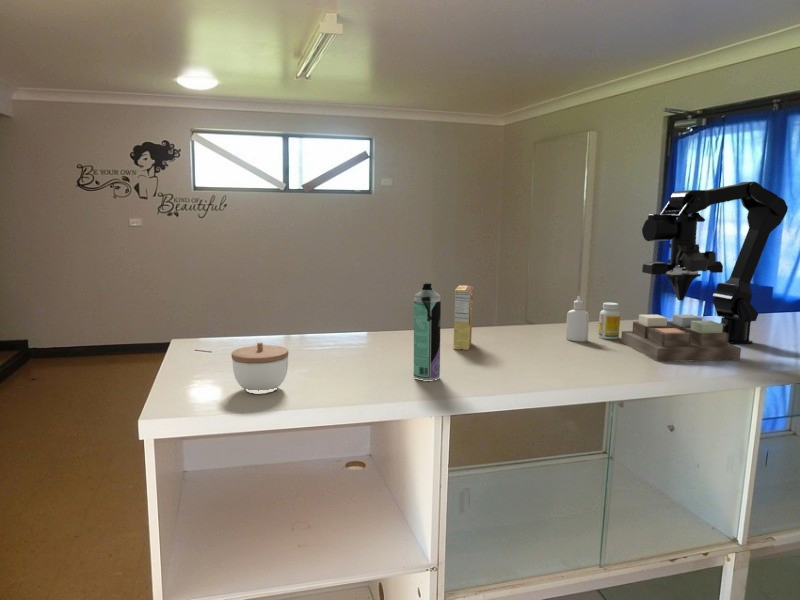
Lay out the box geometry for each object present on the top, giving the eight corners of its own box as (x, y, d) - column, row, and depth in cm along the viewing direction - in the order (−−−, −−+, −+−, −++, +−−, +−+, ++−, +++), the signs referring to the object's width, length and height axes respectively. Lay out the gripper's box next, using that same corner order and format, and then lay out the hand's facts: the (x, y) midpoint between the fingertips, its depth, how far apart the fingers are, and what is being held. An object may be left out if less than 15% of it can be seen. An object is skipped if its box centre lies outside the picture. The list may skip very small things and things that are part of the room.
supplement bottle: (594, 337, 164) (596, 303, 162) (605, 334, 167) (607, 301, 165) (612, 340, 159) (614, 305, 158) (622, 337, 163) (624, 303, 161)
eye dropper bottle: (576, 337, 163) (578, 294, 161) (590, 341, 158) (592, 297, 156) (563, 338, 161) (565, 295, 160) (577, 343, 156) (579, 298, 155)
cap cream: (657, 325, 154) (657, 314, 153) (666, 329, 149) (667, 317, 149) (638, 325, 154) (639, 314, 153) (647, 329, 149) (647, 318, 148)
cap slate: (690, 325, 154) (691, 314, 154) (701, 329, 149) (702, 317, 149) (672, 325, 154) (672, 314, 154) (681, 329, 149) (682, 317, 149)
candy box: (456, 342, 157) (457, 285, 155) (472, 342, 156) (473, 285, 154) (453, 349, 149) (454, 289, 146) (469, 350, 148) (471, 290, 145)
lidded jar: (268, 401, 108) (266, 351, 107) (221, 394, 112) (219, 346, 111) (299, 385, 118) (298, 339, 116) (255, 379, 122) (254, 335, 120)
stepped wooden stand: (694, 341, 158) (695, 319, 157) (739, 360, 138) (742, 335, 137) (621, 342, 157) (622, 320, 156) (656, 361, 138) (658, 335, 137)
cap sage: (709, 332, 145) (711, 320, 145) (721, 336, 140) (722, 324, 140) (690, 332, 145) (691, 320, 145) (701, 337, 140) (702, 324, 140)
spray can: (443, 380, 121) (444, 284, 118) (418, 382, 120) (419, 285, 117) (434, 373, 127) (435, 281, 124) (410, 375, 125) (410, 282, 122)
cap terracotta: (673, 340, 145) (674, 328, 145) (684, 344, 140) (685, 332, 140) (653, 340, 145) (654, 328, 145) (663, 344, 140) (664, 332, 140)
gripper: (664, 242, 142) (661, 306, 144) (738, 240, 143) (734, 304, 146) (642, 240, 153) (640, 299, 155) (711, 238, 154) (707, 297, 157)
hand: (680, 300), depth 153 cm, fingers closed
